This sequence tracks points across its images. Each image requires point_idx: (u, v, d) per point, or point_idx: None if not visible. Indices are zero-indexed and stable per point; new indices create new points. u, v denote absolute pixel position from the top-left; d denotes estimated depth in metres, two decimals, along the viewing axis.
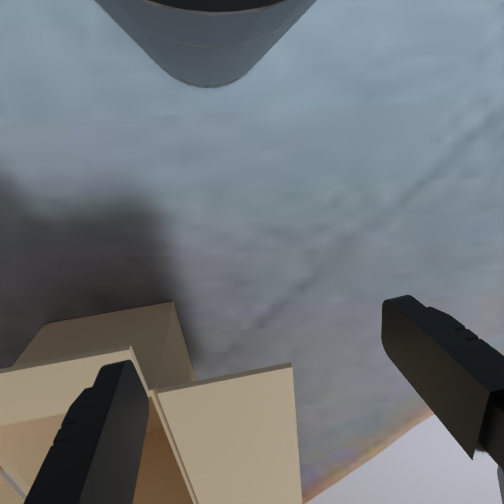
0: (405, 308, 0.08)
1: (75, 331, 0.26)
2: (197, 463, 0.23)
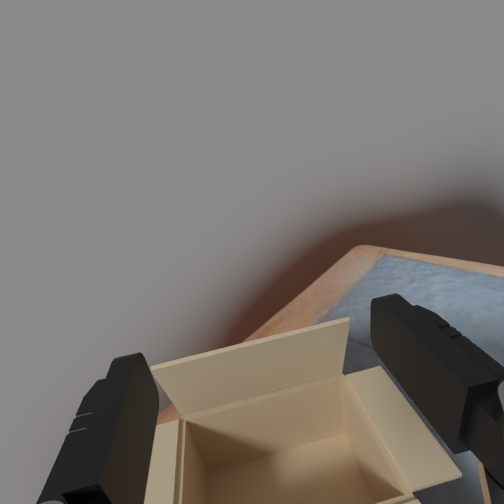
0: (392, 306, 0.08)
1: None
2: None
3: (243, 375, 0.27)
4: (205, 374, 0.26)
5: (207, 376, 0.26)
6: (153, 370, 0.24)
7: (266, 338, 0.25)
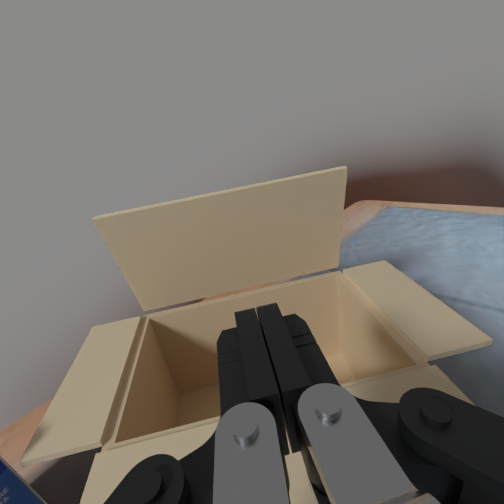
0: (264, 315, 0.09)
1: None
2: None
3: (215, 249, 0.22)
4: (166, 239, 0.21)
5: (168, 244, 0.21)
6: (96, 220, 0.19)
7: (241, 187, 0.20)
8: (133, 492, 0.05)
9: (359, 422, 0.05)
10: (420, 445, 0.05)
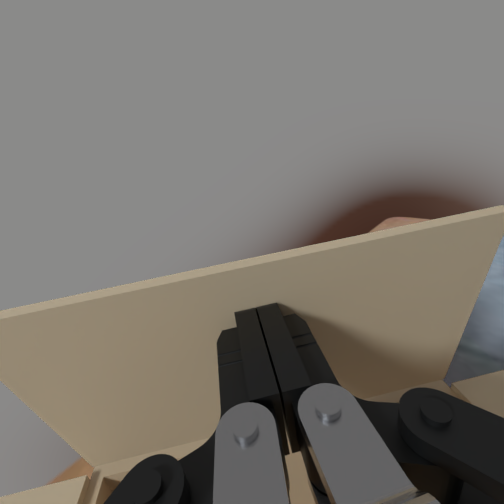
0: (264, 315, 0.09)
1: None
2: None
3: None
4: (125, 357, 0.10)
5: (131, 365, 0.10)
6: None
7: (285, 252, 0.09)
8: (133, 492, 0.05)
9: (359, 422, 0.05)
10: (420, 445, 0.05)
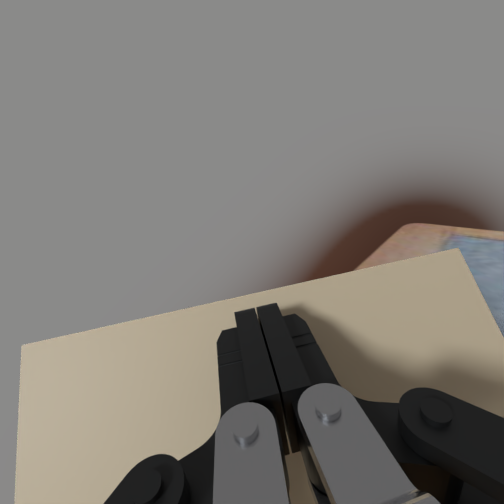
0: (264, 315, 0.09)
1: None
2: None
3: None
4: (136, 398, 0.10)
5: (138, 413, 0.10)
6: (27, 346, 0.11)
7: None
8: (133, 492, 0.05)
9: (359, 422, 0.05)
10: (420, 445, 0.05)
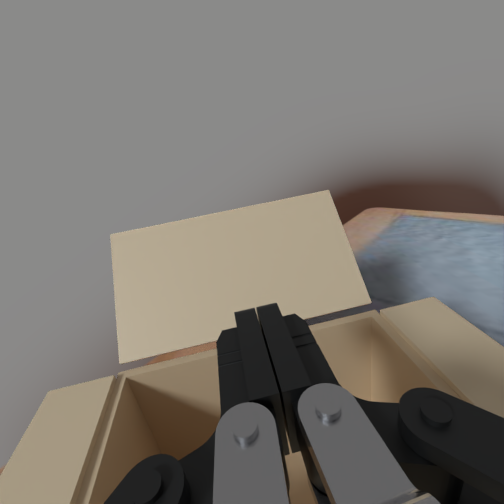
0: (264, 315, 0.09)
1: None
2: None
3: (215, 269, 0.21)
4: (167, 255, 0.21)
5: (168, 261, 0.21)
6: (113, 235, 0.22)
7: None
8: (133, 492, 0.05)
9: (359, 422, 0.05)
10: (420, 445, 0.05)
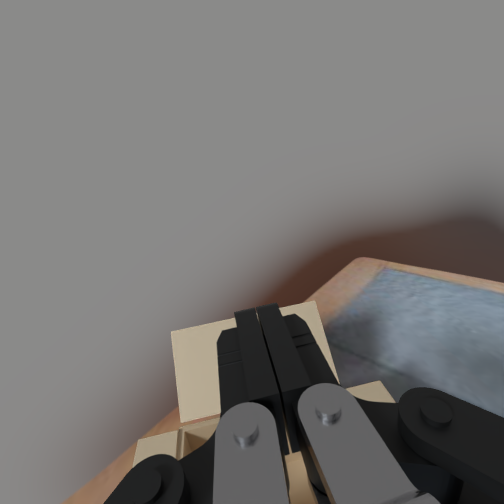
0: (264, 315, 0.09)
1: None
2: None
3: None
4: (208, 348, 0.33)
5: (209, 352, 0.32)
6: (172, 332, 0.33)
7: None
8: (133, 492, 0.05)
9: (359, 422, 0.05)
10: (420, 445, 0.05)
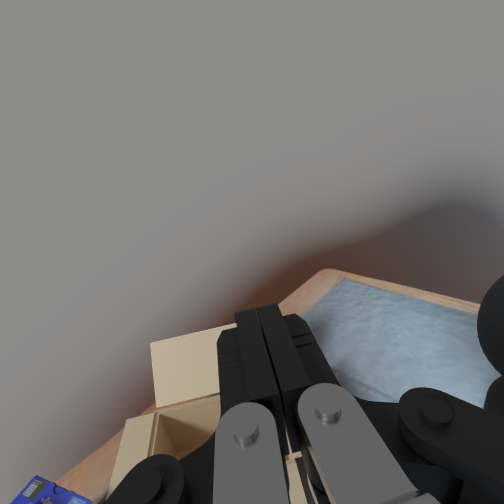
0: (264, 315, 0.09)
1: None
2: None
3: (199, 362, 0.45)
4: (177, 354, 0.45)
5: (177, 357, 0.45)
6: (151, 343, 0.46)
7: (211, 329, 0.47)
8: (133, 492, 0.05)
9: (359, 422, 0.05)
10: (420, 445, 0.05)
